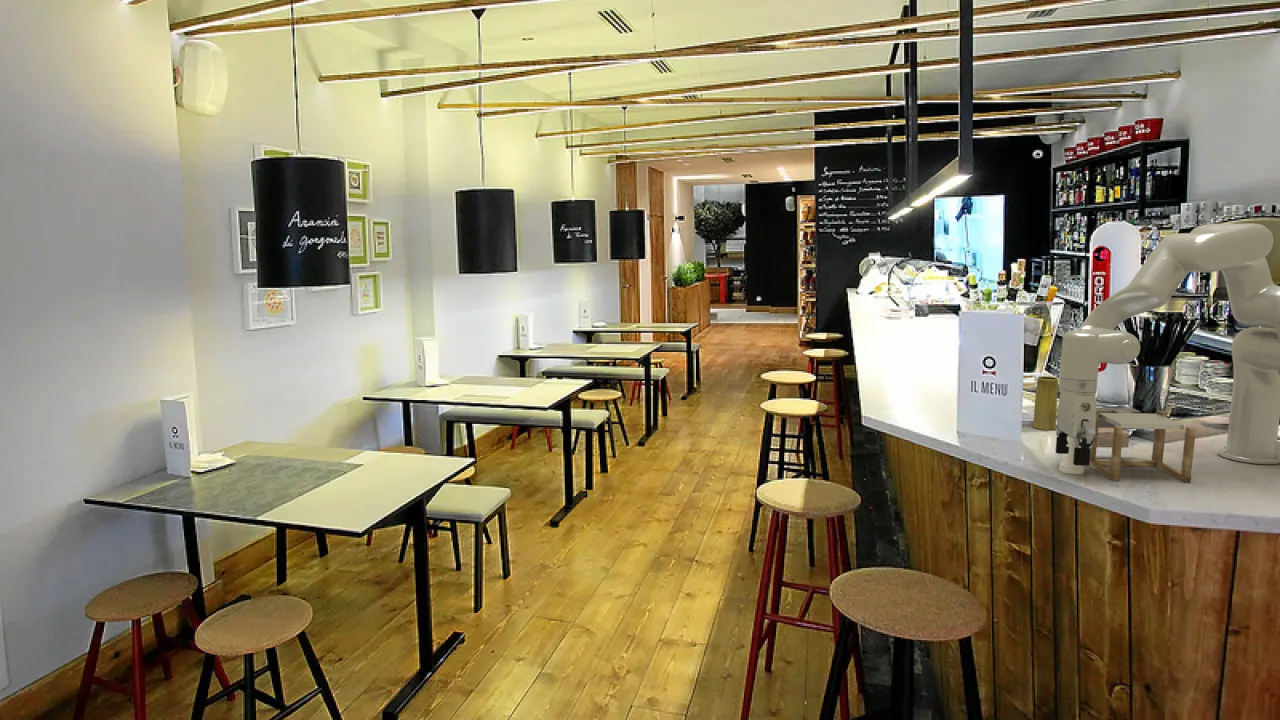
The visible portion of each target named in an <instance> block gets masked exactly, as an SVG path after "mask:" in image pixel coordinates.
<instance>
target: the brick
mask: <svg viewBox="0 0 1280 720" xmlns="http://www.w3.org/2000/svg"><path fill="white" fill-rule="evenodd" d="M1113 433H1114V428H1098V436H1097V447H1098V448H1112V445H1113ZM1129 436H1130V432H1128V431H1127V430H1124V429H1123V438H1122V448H1123V449H1124V448H1129V442H1130V439H1129Z"/></svg>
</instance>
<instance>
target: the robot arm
mask: <svg viewBox="0 0 1280 720" xmlns="http://www.w3.org/2000/svg"><path fill="white" fill-rule="evenodd" d="M1273 245H1274V236H1273V233H1272V231H1271V230H1270V229H1269V228H1267V227H1266V226H1265V225H1263V224H1259V223H1208V224H1202V225H1199V226H1196V227H1195V228H1193V229H1192V230H1191V231H1190V232H1184V233H1183V232H1182V233H1173V234H1169V235H1167V236H1164V237H1162V239H1161V240H1160V241H1159V242H1158V243H1157V244H1156V245H1155V247H1154V248H1153V250H1152V252H1151V253H1150V255H1148V257H1147V259H1146V260H1145V261H1144V263H1143V264H1142V266H1141V268H1139V270H1138V271H1137V272H1136V274H1135V275H1134V277H1133V278H1132V280H1131V281H1130V283H1129V284H1127V286H1125V287H1124V288H1121V290H1118V291H1117V292H1115V293H1114V294H1112V295H1111V296H1109V297H1108V298H1107V299H1105V300H1104V301H1102V302H1101V303H1099V304H1098V305H1097V306H1096V307H1094V309H1093V310H1092V311H1091V312H1090V313H1089V314H1088V316H1087V317H1086V319H1085V320H1084V321H1083V323H1082V324H1081V325H1080V327H1079V328H1078V329H1077V330H1069V331H1066V332H1065V333H1064V334H1063V336H1062V343H1061V344H1062V345H1061V357H1060V368H1059V370H1060V371H1059V379H1058V392H1060V393H1059V399H1058V400H1059V401H1058V405H1057V413H1056V441H1055V453H1056V454H1057V455H1058V454H1061V455H1068V452H1069V447H1067V446H1066V445H1067V444H1069V443H1068V441H1067V436H1068V435H1069V436H1071V437H1073V438H1075V442H1076V447H1074V459H1073V464H1074V465H1079V466H1084V467H1086V466H1087V467H1088V466H1089V461H1090V450H1091V448H1092V445H1091V444H1092V443H1093V438H1094V437H1095V435H1096V408H1097V399H1096V395H1097V392H1098V391H1097V389H1098V377H1099V366H1100V364H1111V365H1125V364H1128V363H1130V362H1133V361H1135V360H1136V358H1137V357H1138V356H1139V354H1140V352H1141V343H1140V341H1139V339H1138V338H1137V337H1136V336H1135V335H1134V334H1132V333H1130V332H1127V331H1123V330H1119V329H1118V330H1117V329H1116V327H1117V326H1119V325H1120V324H1121V323H1123V322H1124V321H1126V320H1128V319H1130V318H1132V317H1135V316H1137V315H1140V314H1145V313H1147V312H1151V311H1153V310H1156V309H1159V308H1161V307H1163V306H1165V305H1166V304H1167V303H1168V302H1169V300H1170V299H1171V298H1172V296H1173V295H1174V293H1175V292H1176V290H1177V289H1178V288H1179V286H1180V285H1181V283H1182V282H1183V281H1184V279H1186V277H1187V275H1188V274H1190V273H1216V272H1221V273H1222V275H1223V278H1224V282H1225V287H1226V292H1227V296H1228V300H1229V305H1230V310H1231V313H1232V316H1233V319H1234V320H1236V321H1237V322H1238V323H1240V324H1243V325H1247V326H1252V327H1248V328H1245V329H1243V330H1241V331H1239V332H1238V333H1237V334H1236V335H1235V336H1234V338H1233V340H1232V343H1231V358H1232V363H1233V364H1232V365H1233V381H1232V391H1231V400H1230V401H1231V402H1230V410H1229V420H1228V427H1227V438H1226V446H1221V447H1219V448H1218V449H1217V454H1218V455H1219V456H1220V457H1223V458H1225V459H1229V460H1231V461H1232V460H1233V461H1237V462H1240V463H1247V464H1248V463H1249V464H1255V465H1256V464H1257V465H1258V464H1259V465H1279V464H1280V441H1279V440H1278V435H1279V434H1278V433H1279V426H1280V374H1279V372H1280V285H1276V284H1275V283H1274V281H1273V279H1272V275H1271V271H1270V267H1269V263H1268V261H1267V259H1266V257H1267V255H1269V254H1270V252H1271V251H1272V248H1273ZM1080 439H1081V441H1080Z"/></svg>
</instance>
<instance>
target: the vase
mask: <svg viewBox="0 0 1280 720" xmlns="http://www.w3.org/2000/svg"><path fill="white" fill-rule="evenodd" d="M1035 387H1036V390H1035V399H1034V408H1033V410H1034V411H1033V421H1032V425H1031V426H1032V428H1033V429H1036V430H1042V431H1054V430H1057V427H1056V426H1057V411H1058V405H1057V404H1058V389H1059V377H1056V376H1046V375H1045V376H1044V375H1043V376H1037V378H1036V386H1035Z"/></svg>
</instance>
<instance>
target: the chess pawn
mask: <svg viewBox="0 0 1280 720" xmlns="http://www.w3.org/2000/svg"><path fill="white" fill-rule="evenodd" d="M1067 441H1068V443H1069V444H1067V445H1066V446H1067V447H1069V452H1068V454H1066V456H1064V458H1065V459H1064V460H1062V461H1061V462H1059V467H1058V470H1059V471H1060V472H1061V473H1064V474H1067V475H1068V474H1069V475H1083V474H1084V473H1085V466H1079V465H1074V464H1073V459H1074V447H1076V442H1075V438H1073V437H1071V436H1069V435H1068V436H1067ZM1081 441H1082V439H1080V442H1081Z"/></svg>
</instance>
